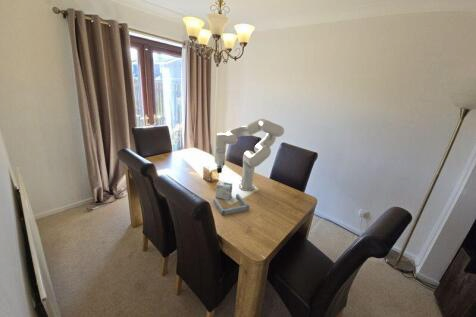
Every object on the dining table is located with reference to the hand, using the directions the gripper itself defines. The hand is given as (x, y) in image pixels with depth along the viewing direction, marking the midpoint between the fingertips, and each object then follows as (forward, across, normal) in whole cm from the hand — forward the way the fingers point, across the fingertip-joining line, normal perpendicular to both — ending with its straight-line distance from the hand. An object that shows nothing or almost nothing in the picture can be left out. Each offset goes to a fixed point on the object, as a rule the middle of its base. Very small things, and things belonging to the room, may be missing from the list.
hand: (219, 172), depth 157 cm
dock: (+15, +24, 0) cm, 28 cm away
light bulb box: (+15, +11, 0) cm, 19 cm away
